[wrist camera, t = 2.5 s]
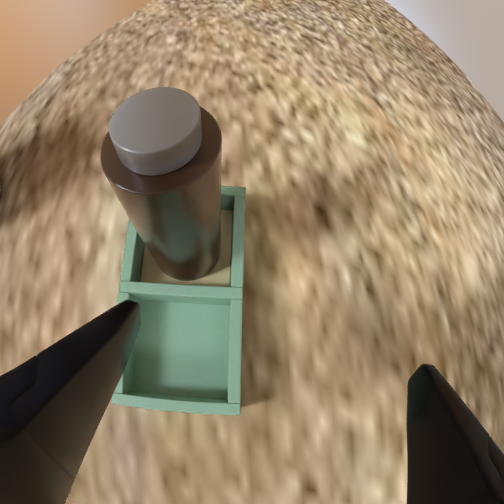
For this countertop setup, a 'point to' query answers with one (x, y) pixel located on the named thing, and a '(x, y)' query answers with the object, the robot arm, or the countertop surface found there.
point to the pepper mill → (168, 178)
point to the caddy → (187, 326)
